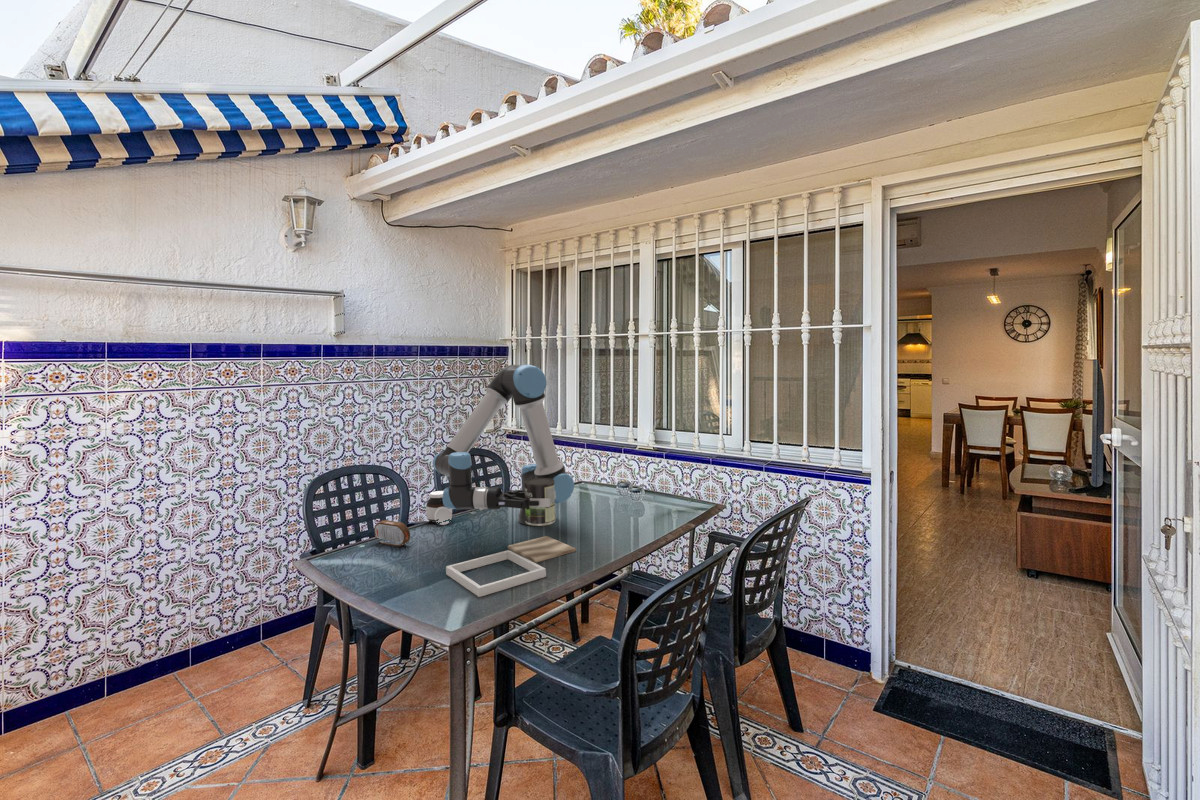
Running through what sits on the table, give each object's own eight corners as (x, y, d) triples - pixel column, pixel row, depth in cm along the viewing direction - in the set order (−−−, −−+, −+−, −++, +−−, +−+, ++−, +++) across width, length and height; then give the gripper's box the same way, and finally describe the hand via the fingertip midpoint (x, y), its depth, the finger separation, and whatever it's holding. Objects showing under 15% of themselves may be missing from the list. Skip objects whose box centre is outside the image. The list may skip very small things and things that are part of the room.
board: (507, 548, 195) (507, 545, 195) (546, 538, 205) (546, 535, 205) (535, 562, 181) (535, 559, 181) (575, 551, 191) (575, 548, 191)
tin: (411, 545, 200) (410, 522, 200) (404, 548, 198) (403, 525, 197) (379, 540, 207) (378, 518, 206) (373, 543, 204) (371, 520, 203)
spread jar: (440, 516, 237) (439, 489, 236) (462, 519, 232) (461, 491, 232) (420, 524, 227) (419, 495, 226) (442, 527, 222) (441, 498, 221)
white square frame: (446, 574, 173) (445, 566, 173) (509, 557, 187) (509, 549, 186) (479, 597, 156) (478, 588, 156) (545, 576, 170) (545, 568, 169)
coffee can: (530, 527, 186) (529, 485, 185) (521, 519, 195) (520, 479, 194) (560, 523, 190) (559, 482, 189) (549, 515, 199) (548, 476, 198)
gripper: (498, 500, 205) (558, 500, 203) (478, 518, 183) (546, 519, 181) (497, 480, 205) (558, 480, 202) (477, 495, 182) (545, 495, 180)
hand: (552, 498), depth 192 cm, fingers closed on coffee can, 10 cm apart
